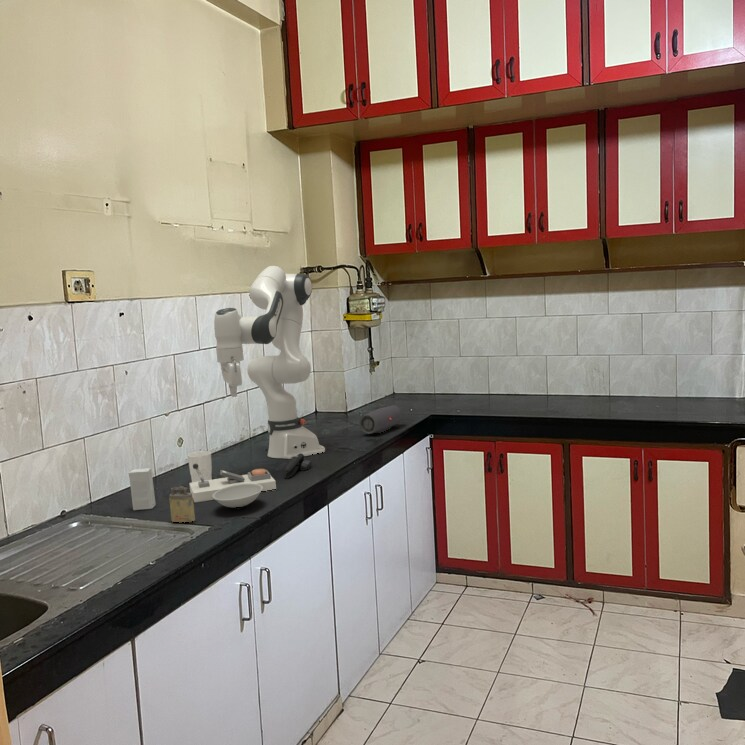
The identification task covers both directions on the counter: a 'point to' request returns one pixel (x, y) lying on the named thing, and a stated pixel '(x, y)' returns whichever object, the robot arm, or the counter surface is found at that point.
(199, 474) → the toggle lever
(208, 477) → the white cup
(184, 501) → the lighter
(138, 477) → the skincare box
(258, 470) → the push button
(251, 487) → the dish
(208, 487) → the switch panel
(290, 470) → the can opener
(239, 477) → the block
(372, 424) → the bluetooth speaker
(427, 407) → the counter surface
